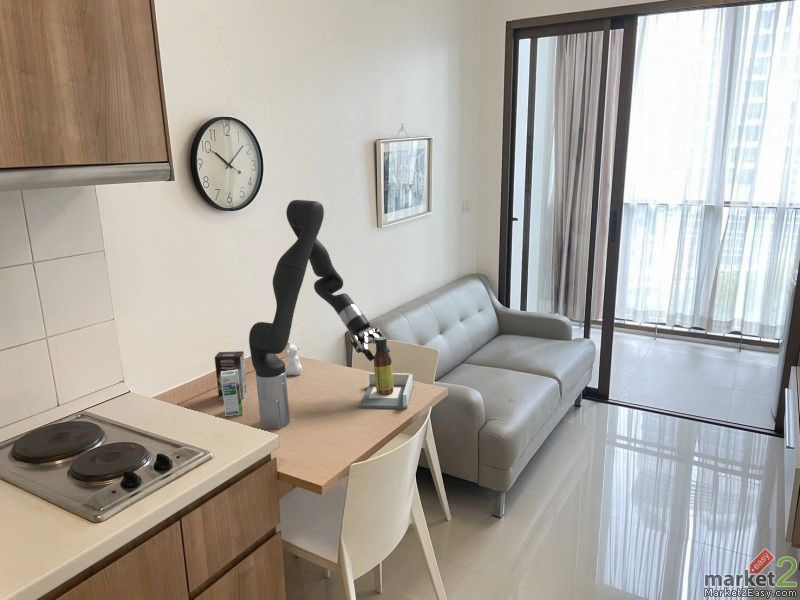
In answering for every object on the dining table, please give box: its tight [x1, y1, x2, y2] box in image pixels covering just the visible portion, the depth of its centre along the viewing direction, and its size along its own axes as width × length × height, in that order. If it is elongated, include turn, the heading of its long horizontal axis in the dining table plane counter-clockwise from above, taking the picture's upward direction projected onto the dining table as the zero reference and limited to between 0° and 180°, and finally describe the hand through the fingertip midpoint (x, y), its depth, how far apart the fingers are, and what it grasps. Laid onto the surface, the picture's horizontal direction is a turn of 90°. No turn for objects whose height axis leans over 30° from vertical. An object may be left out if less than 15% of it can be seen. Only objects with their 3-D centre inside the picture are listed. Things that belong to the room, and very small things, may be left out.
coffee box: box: [214, 350, 248, 401], centre depth 212 cm, size 9×6×16 cm
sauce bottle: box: [373, 336, 394, 395], centre depth 207 cm, size 6×6×20 cm
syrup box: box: [221, 369, 244, 417], centre depth 198 cm, size 6×6×14 cm
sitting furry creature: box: [285, 344, 303, 376], centre depth 234 cm, size 10×9×12 cm
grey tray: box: [359, 372, 414, 410], centre depth 208 cm, size 20×16×5 cm
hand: (380, 356), depth 207 cm, fingers open, 8 cm apart
